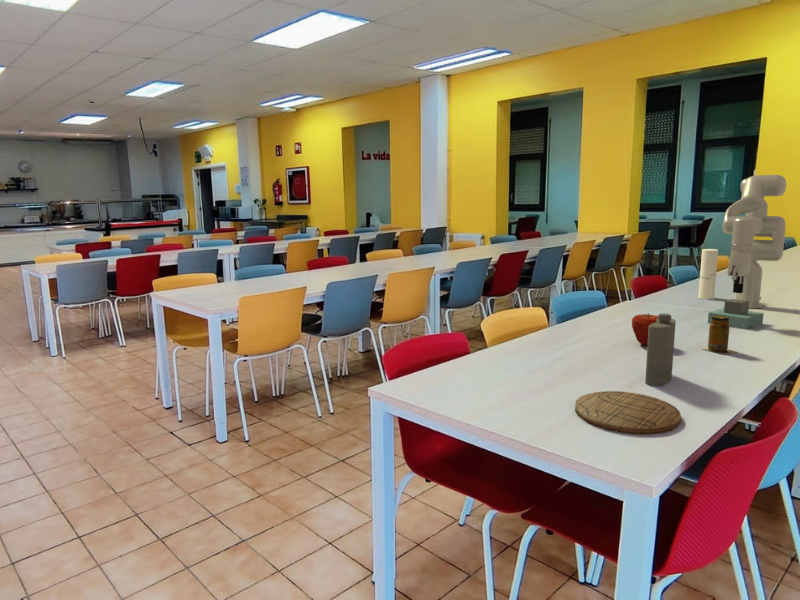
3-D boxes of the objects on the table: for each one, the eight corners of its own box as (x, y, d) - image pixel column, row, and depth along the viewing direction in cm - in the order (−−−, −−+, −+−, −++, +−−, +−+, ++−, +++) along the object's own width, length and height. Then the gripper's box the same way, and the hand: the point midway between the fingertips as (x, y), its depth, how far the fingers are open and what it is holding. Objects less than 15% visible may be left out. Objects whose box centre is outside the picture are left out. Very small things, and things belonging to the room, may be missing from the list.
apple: (631, 347, 203) (632, 315, 200) (630, 340, 213) (631, 309, 210) (664, 350, 199) (667, 316, 197) (662, 342, 209) (664, 310, 207)
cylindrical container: (716, 299, 285) (721, 250, 280) (702, 299, 285) (706, 250, 281) (709, 296, 292) (713, 248, 288) (695, 297, 292) (699, 249, 288)
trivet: (660, 445, 126) (661, 437, 126) (557, 417, 143) (558, 410, 143) (693, 412, 144) (694, 405, 144) (599, 391, 161) (599, 384, 161)
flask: (664, 388, 161) (669, 320, 158) (643, 384, 165) (647, 317, 161) (675, 374, 173) (679, 310, 170) (655, 371, 177) (659, 308, 173)
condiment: (715, 346, 202) (717, 314, 200) (737, 352, 195) (741, 318, 192) (701, 349, 199) (704, 316, 197) (724, 355, 191) (727, 321, 189)
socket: (724, 317, 245) (725, 307, 245) (762, 323, 234) (763, 313, 233) (707, 322, 237) (708, 312, 236) (746, 329, 225) (747, 318, 224)
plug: (730, 319, 240) (732, 298, 238) (747, 322, 234) (749, 301, 233) (723, 321, 236) (724, 300, 234) (739, 324, 231) (741, 303, 229)
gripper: (740, 246, 237) (736, 289, 240) (723, 249, 228) (719, 293, 231) (759, 247, 231) (755, 291, 234) (743, 250, 222) (739, 296, 225)
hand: (737, 292), depth 233 cm, fingers closed
